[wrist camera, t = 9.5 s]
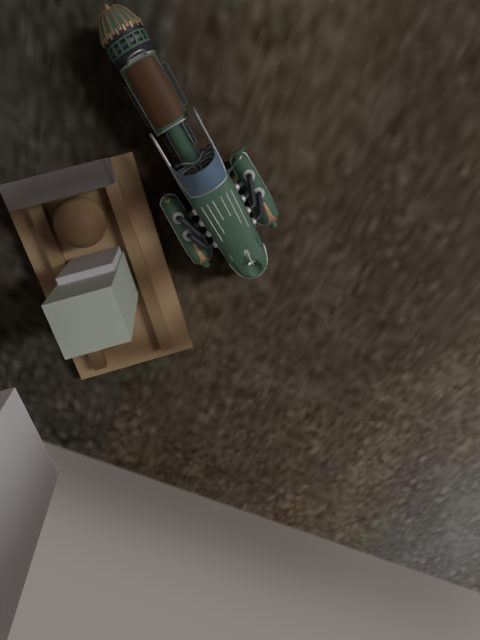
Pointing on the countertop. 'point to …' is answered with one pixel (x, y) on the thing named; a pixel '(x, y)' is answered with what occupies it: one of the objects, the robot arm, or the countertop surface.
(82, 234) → the walnut
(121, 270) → the block
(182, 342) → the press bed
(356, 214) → the countertop surface
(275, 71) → the countertop surface
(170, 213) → the hoverbike
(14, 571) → the robot arm
